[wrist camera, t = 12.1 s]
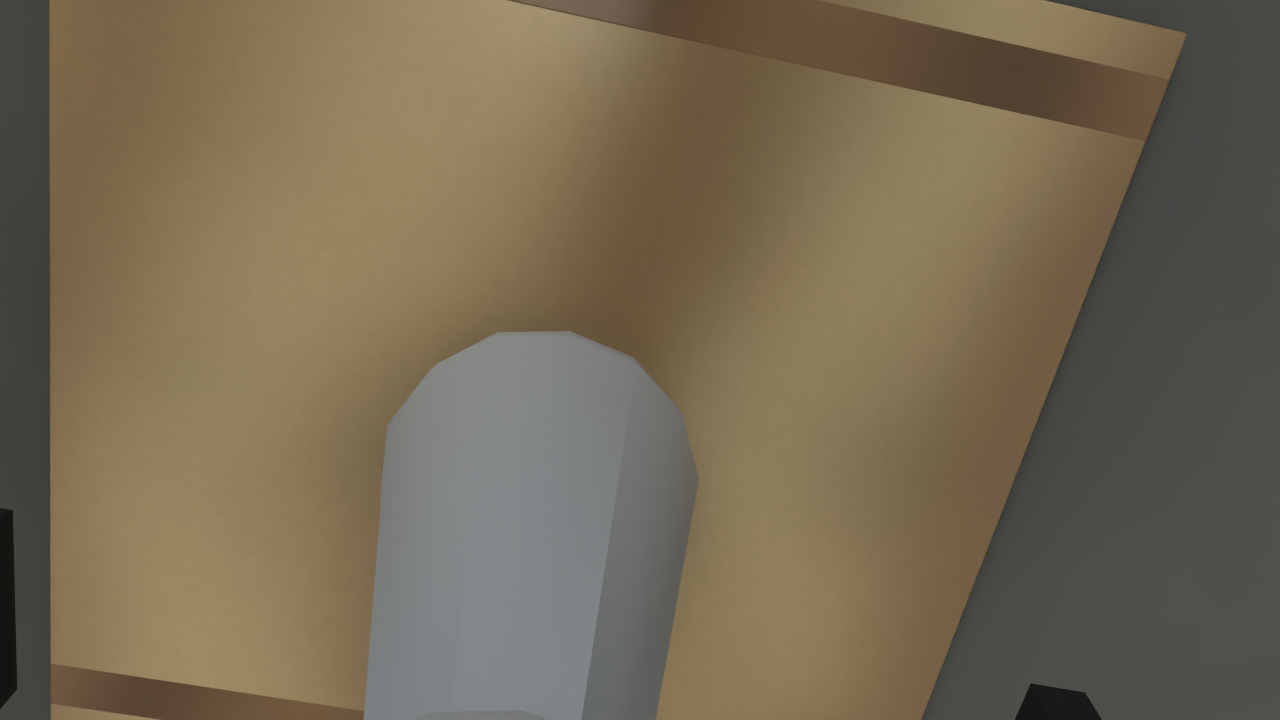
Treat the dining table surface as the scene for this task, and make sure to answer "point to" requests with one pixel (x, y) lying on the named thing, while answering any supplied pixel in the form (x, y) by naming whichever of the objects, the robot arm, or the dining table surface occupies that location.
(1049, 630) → the dining table surface
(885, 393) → the placemat
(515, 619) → the salt shaker
